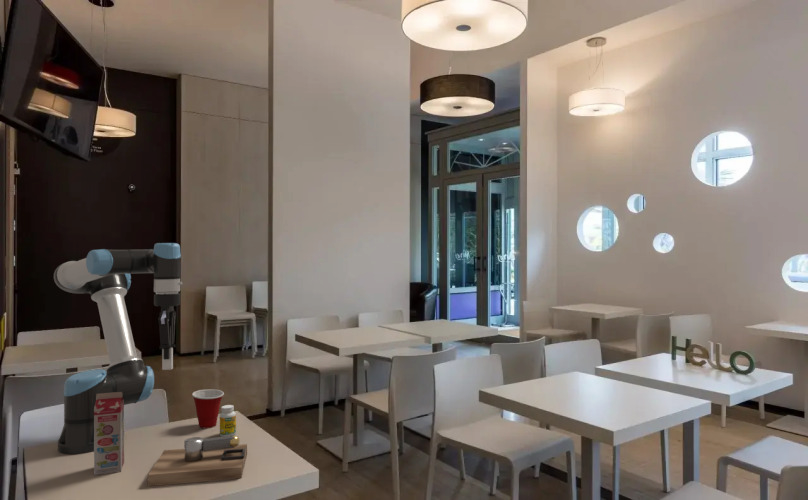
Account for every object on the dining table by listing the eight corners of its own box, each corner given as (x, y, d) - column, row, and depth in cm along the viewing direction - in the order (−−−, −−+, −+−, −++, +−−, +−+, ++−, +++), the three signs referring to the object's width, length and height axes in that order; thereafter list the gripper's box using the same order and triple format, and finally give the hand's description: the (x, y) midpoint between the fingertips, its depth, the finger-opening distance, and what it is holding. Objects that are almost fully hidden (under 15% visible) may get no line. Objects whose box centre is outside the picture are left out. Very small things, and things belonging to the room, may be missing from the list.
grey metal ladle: (184, 462, 149) (184, 444, 149) (184, 455, 154) (184, 438, 154) (240, 454, 155) (240, 437, 155) (238, 448, 160) (238, 431, 160)
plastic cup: (213, 431, 185) (213, 397, 185) (185, 429, 187) (185, 395, 187) (229, 421, 195) (229, 389, 195) (203, 420, 197) (203, 387, 197)
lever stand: (164, 460, 159) (164, 447, 159) (247, 453, 164) (247, 441, 164) (148, 486, 142) (148, 471, 142) (241, 477, 147) (241, 464, 147)
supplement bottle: (231, 430, 186) (231, 403, 186) (238, 434, 182) (238, 406, 182) (216, 434, 182) (216, 406, 182) (223, 438, 178) (223, 409, 178)
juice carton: (98, 466, 155) (98, 391, 155) (124, 462, 157) (123, 388, 158) (94, 475, 149) (93, 396, 149) (120, 471, 151) (120, 394, 151)
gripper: (175, 294, 158) (175, 373, 158) (184, 291, 171) (184, 364, 171) (148, 294, 157) (148, 374, 157) (159, 291, 170) (159, 365, 170)
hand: (167, 369), depth 164 cm, fingers closed
